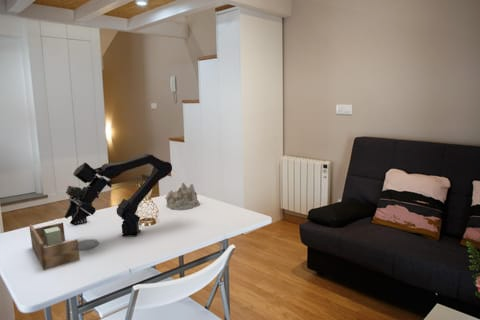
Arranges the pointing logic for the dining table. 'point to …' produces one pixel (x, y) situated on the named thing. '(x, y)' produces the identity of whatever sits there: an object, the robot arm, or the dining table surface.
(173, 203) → the miniature castle
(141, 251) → the dining table surface
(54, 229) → the block
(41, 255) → the open box
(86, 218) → the battery charger
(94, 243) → the grey mat
